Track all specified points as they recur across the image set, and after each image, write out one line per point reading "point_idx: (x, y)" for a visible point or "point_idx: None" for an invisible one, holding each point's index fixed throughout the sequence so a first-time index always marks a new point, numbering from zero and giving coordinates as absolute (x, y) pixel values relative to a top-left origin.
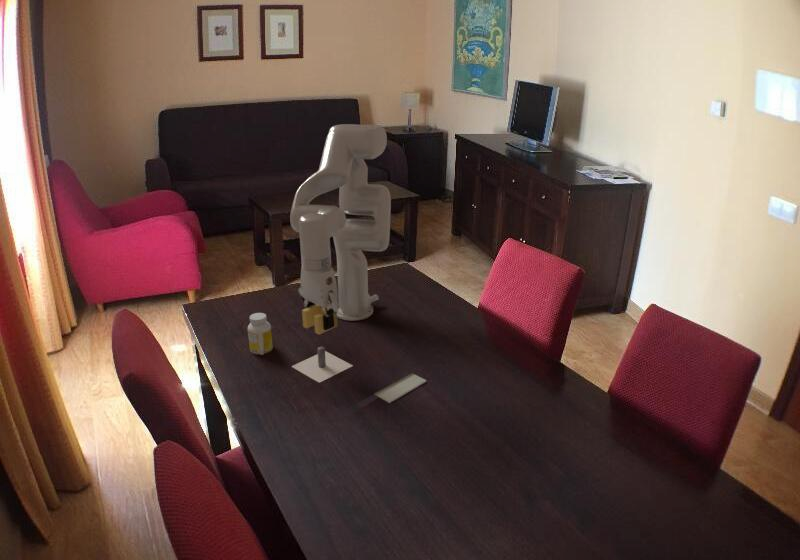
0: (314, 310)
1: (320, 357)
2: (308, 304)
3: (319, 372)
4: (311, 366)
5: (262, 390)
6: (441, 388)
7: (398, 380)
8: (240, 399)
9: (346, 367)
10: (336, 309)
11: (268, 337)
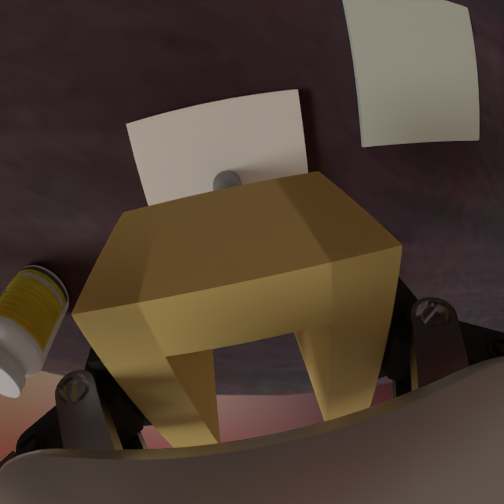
0: (192, 382)
1: None
2: (132, 434)
3: None
4: None
5: (231, 348)
6: (493, 16)
7: (437, 46)
8: (237, 382)
9: (293, 115)
10: None
11: (41, 318)
